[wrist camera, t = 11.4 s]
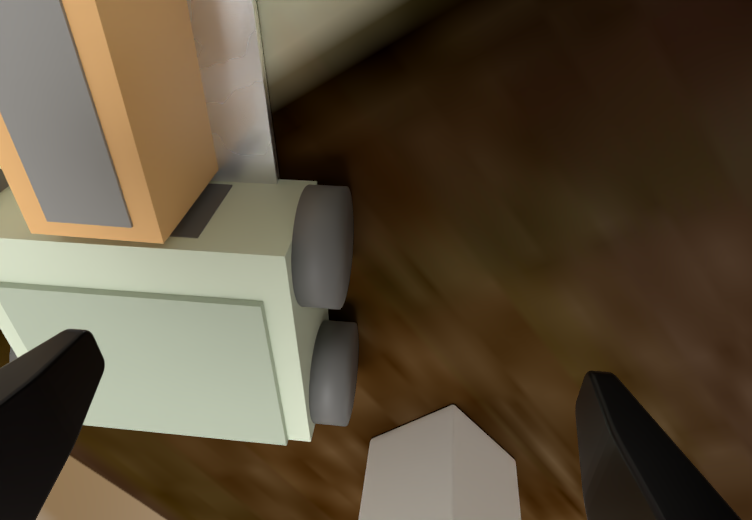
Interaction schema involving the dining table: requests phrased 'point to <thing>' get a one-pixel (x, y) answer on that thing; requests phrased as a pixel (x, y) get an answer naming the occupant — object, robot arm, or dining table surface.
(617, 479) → the robot arm
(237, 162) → the mounting plate
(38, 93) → the block
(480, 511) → the milk
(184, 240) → the mower deck
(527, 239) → the dining table surface
